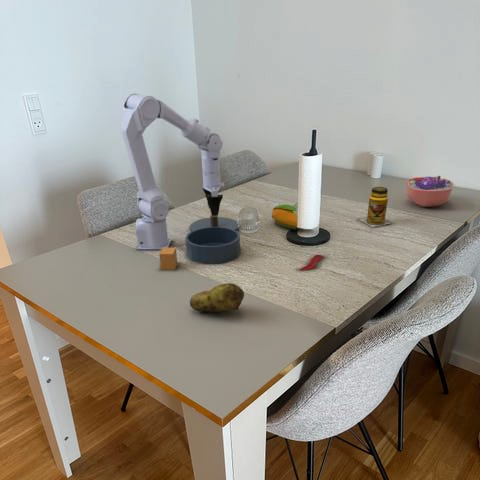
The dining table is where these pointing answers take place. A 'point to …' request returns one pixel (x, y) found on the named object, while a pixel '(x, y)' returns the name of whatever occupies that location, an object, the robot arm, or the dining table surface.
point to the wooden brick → (168, 258)
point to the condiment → (377, 207)
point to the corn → (285, 216)
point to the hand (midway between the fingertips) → (213, 211)
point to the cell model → (429, 190)
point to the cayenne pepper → (312, 262)
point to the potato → (218, 298)
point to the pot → (213, 245)
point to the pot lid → (214, 223)
